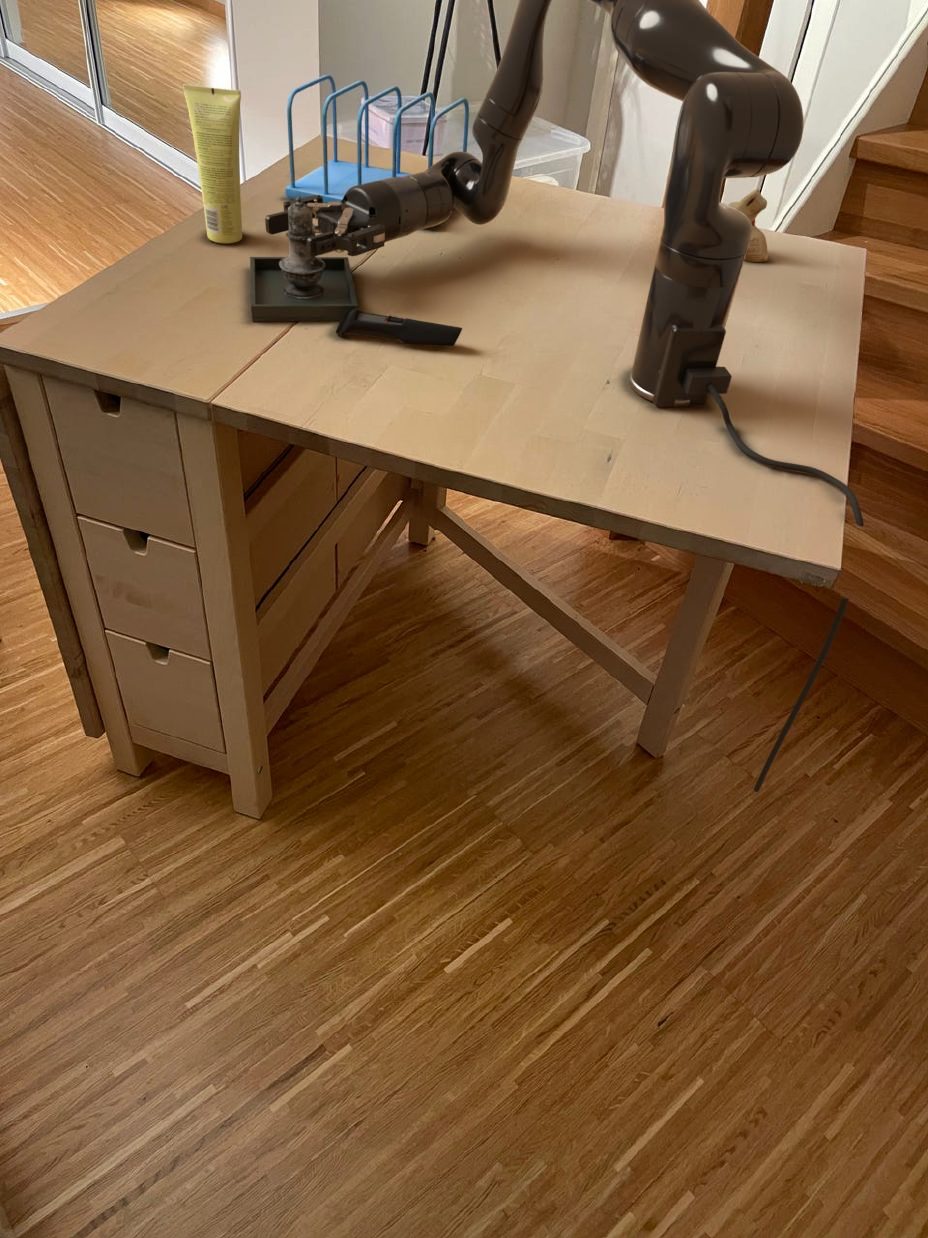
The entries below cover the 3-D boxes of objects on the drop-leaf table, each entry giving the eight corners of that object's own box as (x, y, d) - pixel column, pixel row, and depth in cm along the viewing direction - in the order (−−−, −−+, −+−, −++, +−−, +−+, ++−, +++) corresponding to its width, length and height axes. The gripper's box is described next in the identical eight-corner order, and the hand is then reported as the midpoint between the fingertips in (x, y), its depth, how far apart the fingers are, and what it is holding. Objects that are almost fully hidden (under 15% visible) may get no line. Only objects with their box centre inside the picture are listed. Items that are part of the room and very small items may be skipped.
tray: (358, 320, 117) (358, 305, 116) (252, 321, 115) (250, 306, 113) (348, 271, 128) (348, 256, 126) (251, 271, 125) (250, 256, 124)
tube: (235, 228, 136) (221, 79, 122) (253, 240, 133) (240, 89, 120) (200, 235, 133) (182, 83, 120) (217, 247, 130) (201, 93, 117)
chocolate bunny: (734, 242, 147) (752, 176, 140) (771, 260, 142) (791, 193, 135) (709, 247, 144) (727, 180, 137) (746, 266, 140) (766, 198, 133)
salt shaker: (275, 283, 122) (268, 189, 114) (317, 279, 124) (314, 185, 116) (288, 302, 118) (282, 206, 110) (331, 297, 120) (329, 202, 112)
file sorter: (469, 196, 153) (477, 93, 142) (432, 231, 141) (437, 121, 130) (332, 169, 158) (330, 67, 147) (284, 200, 146) (278, 91, 135)
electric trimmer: (457, 358, 112) (459, 334, 110) (334, 337, 113) (333, 313, 111) (462, 344, 115) (465, 320, 113) (342, 324, 116) (342, 300, 114)
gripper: (350, 165, 124) (251, 188, 115) (422, 197, 118) (322, 223, 109) (351, 222, 130) (256, 247, 121) (420, 255, 123) (324, 285, 114)
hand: (287, 236), depth 115 cm, fingers open, 8 cm apart
